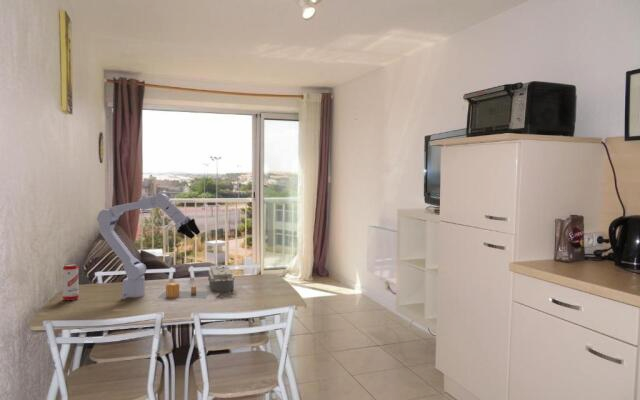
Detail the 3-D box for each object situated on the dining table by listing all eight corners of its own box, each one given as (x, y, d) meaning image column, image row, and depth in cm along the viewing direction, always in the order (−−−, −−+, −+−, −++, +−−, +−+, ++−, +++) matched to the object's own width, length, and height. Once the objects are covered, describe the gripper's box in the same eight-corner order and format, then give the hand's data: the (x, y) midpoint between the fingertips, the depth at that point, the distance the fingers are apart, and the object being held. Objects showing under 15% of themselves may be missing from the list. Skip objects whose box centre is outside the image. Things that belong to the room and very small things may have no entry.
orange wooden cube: (164, 297, 206) (164, 285, 206) (168, 294, 212) (168, 282, 212) (177, 297, 207) (177, 285, 206) (180, 294, 212) (180, 282, 212)
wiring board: (157, 300, 205) (157, 289, 205) (164, 293, 217) (164, 283, 217) (205, 300, 206) (205, 289, 206) (210, 293, 218) (210, 283, 218)
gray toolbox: (228, 280, 245) (228, 262, 244) (236, 296, 218) (236, 276, 217) (206, 281, 241) (206, 263, 240) (211, 298, 214) (211, 278, 213)
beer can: (81, 298, 205) (81, 264, 205) (69, 302, 200) (68, 266, 199) (72, 297, 208) (72, 263, 207) (59, 300, 202) (59, 265, 202)
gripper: (175, 211, 201) (196, 233, 202) (186, 206, 215) (206, 226, 216) (164, 221, 202) (185, 243, 203) (177, 215, 216) (196, 236, 217)
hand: (195, 235), depth 209 cm, fingers open, 7 cm apart
